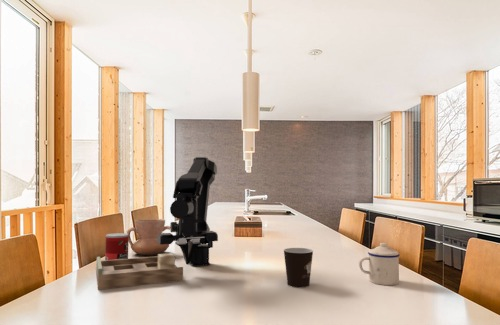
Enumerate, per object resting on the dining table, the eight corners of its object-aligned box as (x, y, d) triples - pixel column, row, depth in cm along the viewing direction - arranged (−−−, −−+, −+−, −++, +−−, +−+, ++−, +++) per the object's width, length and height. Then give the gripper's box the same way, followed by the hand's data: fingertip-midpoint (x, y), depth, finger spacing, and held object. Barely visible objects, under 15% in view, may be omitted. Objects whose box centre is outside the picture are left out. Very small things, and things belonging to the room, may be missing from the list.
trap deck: (169, 266, 131) (169, 251, 131) (182, 280, 112) (183, 262, 113) (96, 273, 121) (96, 256, 121) (97, 289, 103) (98, 269, 103)
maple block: (171, 267, 119) (171, 253, 120) (174, 270, 115) (174, 255, 116) (157, 268, 118) (157, 254, 118) (160, 271, 114) (160, 256, 114)
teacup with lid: (393, 278, 117) (393, 241, 118) (404, 286, 108) (403, 246, 109) (355, 277, 118) (355, 240, 118) (363, 285, 109) (362, 245, 109)
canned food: (120, 268, 128) (121, 236, 129) (100, 267, 130) (101, 235, 131) (132, 263, 136) (132, 233, 137) (112, 262, 138) (113, 232, 138)
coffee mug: (294, 290, 103) (294, 254, 104) (278, 282, 111) (278, 249, 112) (327, 285, 109) (327, 250, 109) (309, 278, 116) (309, 246, 117)
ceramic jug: (172, 250, 163) (172, 217, 163) (168, 256, 148) (168, 220, 149) (130, 251, 161) (130, 218, 161) (122, 258, 146) (122, 222, 147)
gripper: (208, 213, 131) (207, 257, 130) (154, 214, 124) (154, 261, 123) (218, 215, 121) (218, 263, 120) (161, 217, 114) (160, 268, 113)
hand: (187, 264), depth 119 cm, fingers closed
